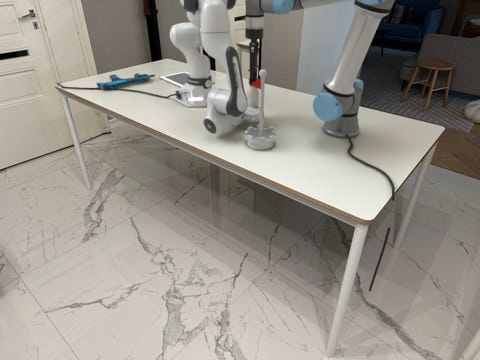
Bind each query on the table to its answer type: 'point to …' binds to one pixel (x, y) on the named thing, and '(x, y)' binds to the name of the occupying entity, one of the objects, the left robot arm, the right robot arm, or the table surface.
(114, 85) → the submachine gun
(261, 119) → the flag stand
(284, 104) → the table surface
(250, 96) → the bottle
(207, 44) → the left robot arm
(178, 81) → the tablet
